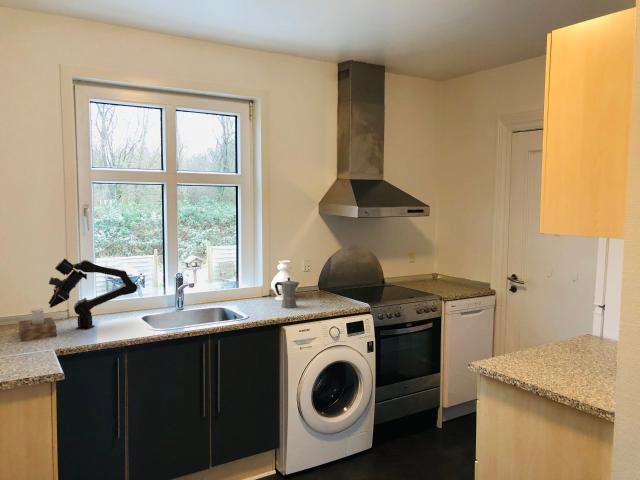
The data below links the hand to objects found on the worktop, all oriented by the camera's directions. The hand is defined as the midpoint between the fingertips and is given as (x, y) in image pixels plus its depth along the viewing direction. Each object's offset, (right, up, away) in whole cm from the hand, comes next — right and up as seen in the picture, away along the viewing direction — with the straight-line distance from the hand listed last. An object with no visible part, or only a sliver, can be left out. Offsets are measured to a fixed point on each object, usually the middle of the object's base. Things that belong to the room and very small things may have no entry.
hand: (49, 305), depth 250 cm
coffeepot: (+115, -8, +56) cm, 128 cm away
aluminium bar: (-4, -12, -3) cm, 13 cm away
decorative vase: (+112, -6, +81) cm, 138 cm away
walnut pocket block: (-4, -14, -2) cm, 15 cm away
